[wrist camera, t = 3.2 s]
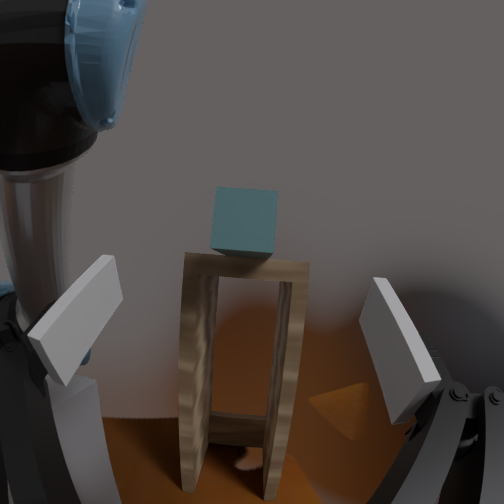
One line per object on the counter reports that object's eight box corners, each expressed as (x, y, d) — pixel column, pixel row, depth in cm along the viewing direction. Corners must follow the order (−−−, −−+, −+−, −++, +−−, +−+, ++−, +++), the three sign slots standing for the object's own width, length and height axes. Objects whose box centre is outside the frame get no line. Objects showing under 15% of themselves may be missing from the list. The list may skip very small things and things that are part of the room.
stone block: (96, 577, 6) (9, 435, 7) (24, 535, 6) (-56, 376, 7) (128, 521, 16) (97, 380, 18) (64, 493, 16) (25, 352, 18)
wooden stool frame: (275, 500, 24) (309, 262, 26) (182, 490, 25) (185, 252, 27) (271, 443, 39) (291, 265, 41) (201, 436, 40) (210, 258, 42)
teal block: (273, 252, 17) (277, 191, 18) (210, 247, 18) (216, 186, 18) (264, 263, 41) (266, 236, 42) (237, 261, 42) (239, 234, 42)
